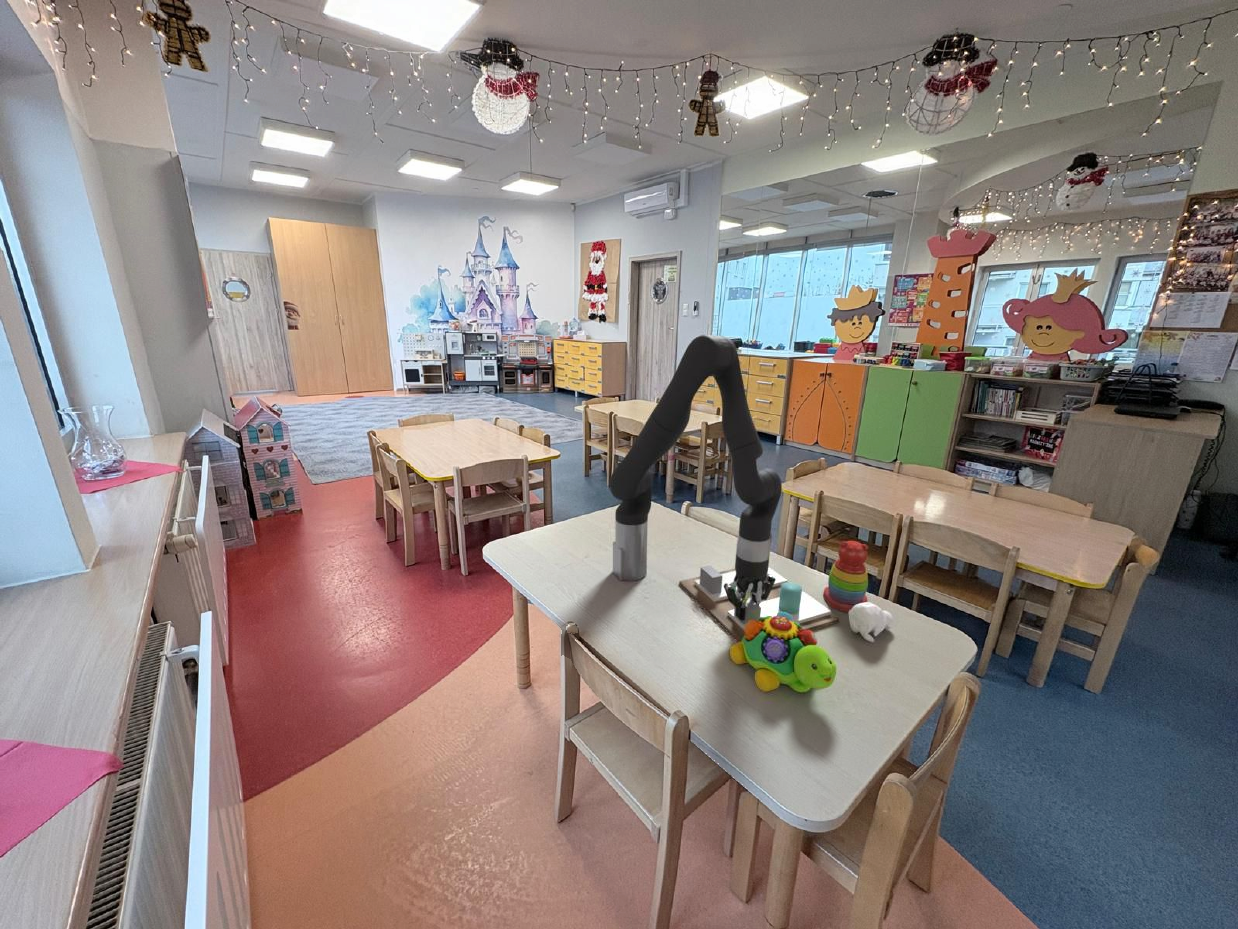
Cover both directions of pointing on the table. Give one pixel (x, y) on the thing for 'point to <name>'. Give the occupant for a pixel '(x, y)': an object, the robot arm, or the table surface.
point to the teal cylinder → (790, 598)
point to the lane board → (722, 607)
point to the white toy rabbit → (869, 619)
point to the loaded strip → (807, 611)
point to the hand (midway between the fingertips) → (746, 616)
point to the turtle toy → (784, 654)
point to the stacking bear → (848, 577)
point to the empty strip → (723, 582)
